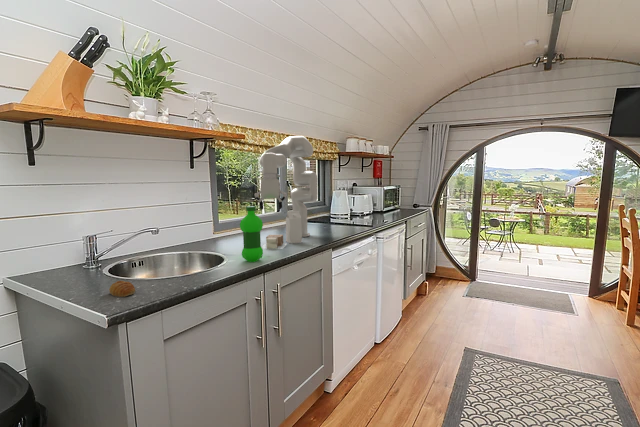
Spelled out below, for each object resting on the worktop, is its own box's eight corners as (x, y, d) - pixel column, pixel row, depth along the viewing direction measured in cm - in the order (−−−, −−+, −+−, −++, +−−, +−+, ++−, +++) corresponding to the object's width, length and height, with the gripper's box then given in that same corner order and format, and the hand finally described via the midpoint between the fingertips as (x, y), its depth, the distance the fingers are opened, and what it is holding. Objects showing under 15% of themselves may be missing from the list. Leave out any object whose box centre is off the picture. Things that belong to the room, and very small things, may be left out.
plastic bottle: (236, 261, 155) (234, 207, 152) (251, 257, 164) (249, 205, 161) (254, 264, 150) (252, 207, 148) (268, 259, 159) (266, 206, 157)
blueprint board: (265, 245, 195) (265, 243, 195) (287, 244, 194) (287, 243, 194) (258, 250, 179) (258, 248, 179) (283, 250, 178) (283, 248, 178)
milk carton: (286, 243, 200) (285, 211, 198) (297, 242, 202) (296, 210, 201) (290, 245, 193) (289, 211, 191) (302, 244, 196) (301, 211, 194)
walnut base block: (269, 243, 194) (269, 234, 194) (283, 243, 194) (283, 234, 193) (266, 246, 186) (266, 237, 186) (280, 246, 186) (280, 237, 185)
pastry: (141, 294, 113) (140, 282, 112) (119, 300, 107) (118, 288, 107) (128, 288, 118) (127, 278, 118) (106, 294, 113) (105, 283, 113)
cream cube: (268, 246, 185) (268, 237, 184) (277, 246, 184) (277, 237, 184) (266, 248, 180) (266, 239, 179) (276, 248, 179) (275, 239, 179)
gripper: (287, 176, 181) (288, 208, 183) (255, 177, 182) (256, 209, 184) (285, 176, 174) (286, 209, 175) (252, 177, 175) (253, 210, 177)
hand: (270, 209), depth 180 cm, fingers open, 9 cm apart
